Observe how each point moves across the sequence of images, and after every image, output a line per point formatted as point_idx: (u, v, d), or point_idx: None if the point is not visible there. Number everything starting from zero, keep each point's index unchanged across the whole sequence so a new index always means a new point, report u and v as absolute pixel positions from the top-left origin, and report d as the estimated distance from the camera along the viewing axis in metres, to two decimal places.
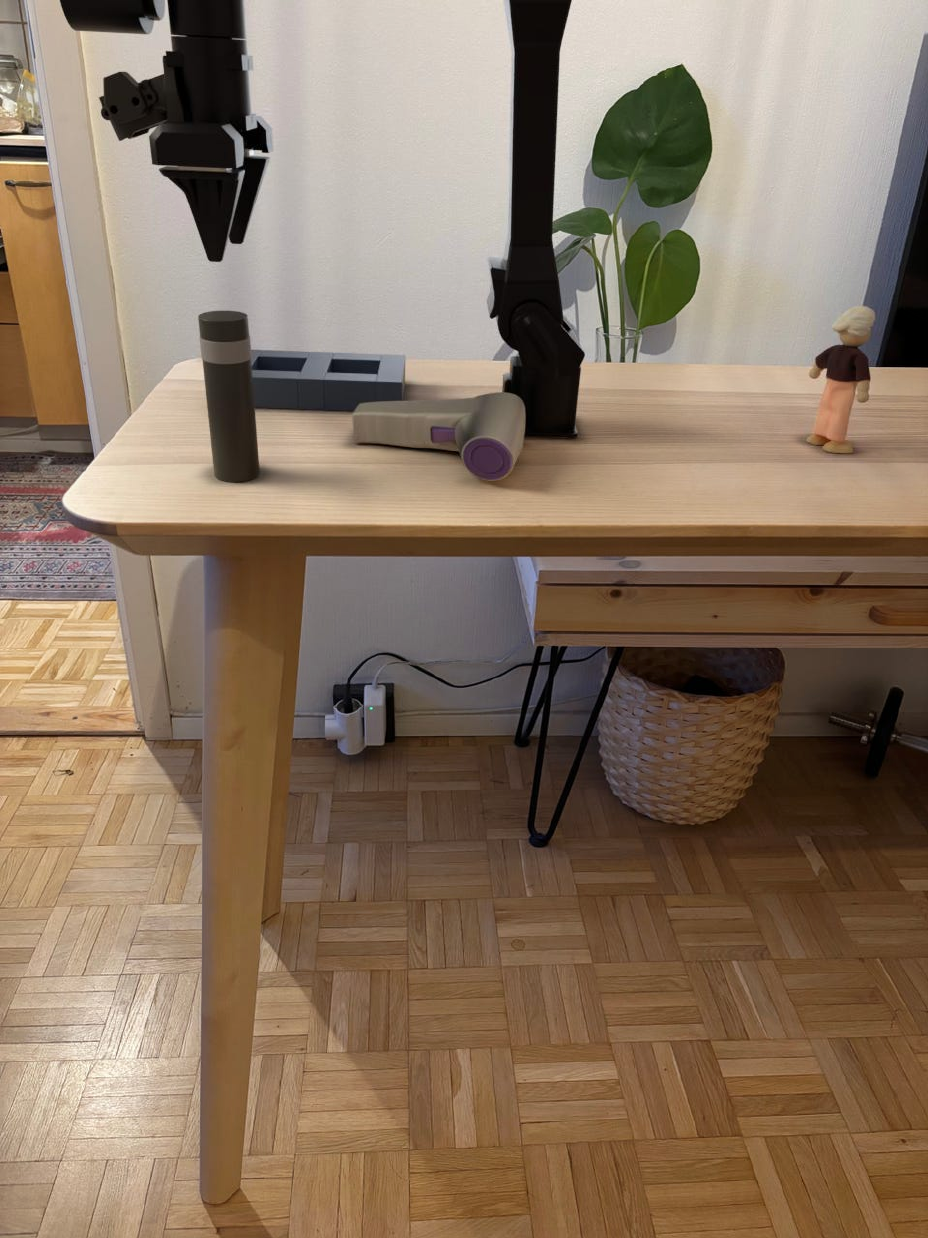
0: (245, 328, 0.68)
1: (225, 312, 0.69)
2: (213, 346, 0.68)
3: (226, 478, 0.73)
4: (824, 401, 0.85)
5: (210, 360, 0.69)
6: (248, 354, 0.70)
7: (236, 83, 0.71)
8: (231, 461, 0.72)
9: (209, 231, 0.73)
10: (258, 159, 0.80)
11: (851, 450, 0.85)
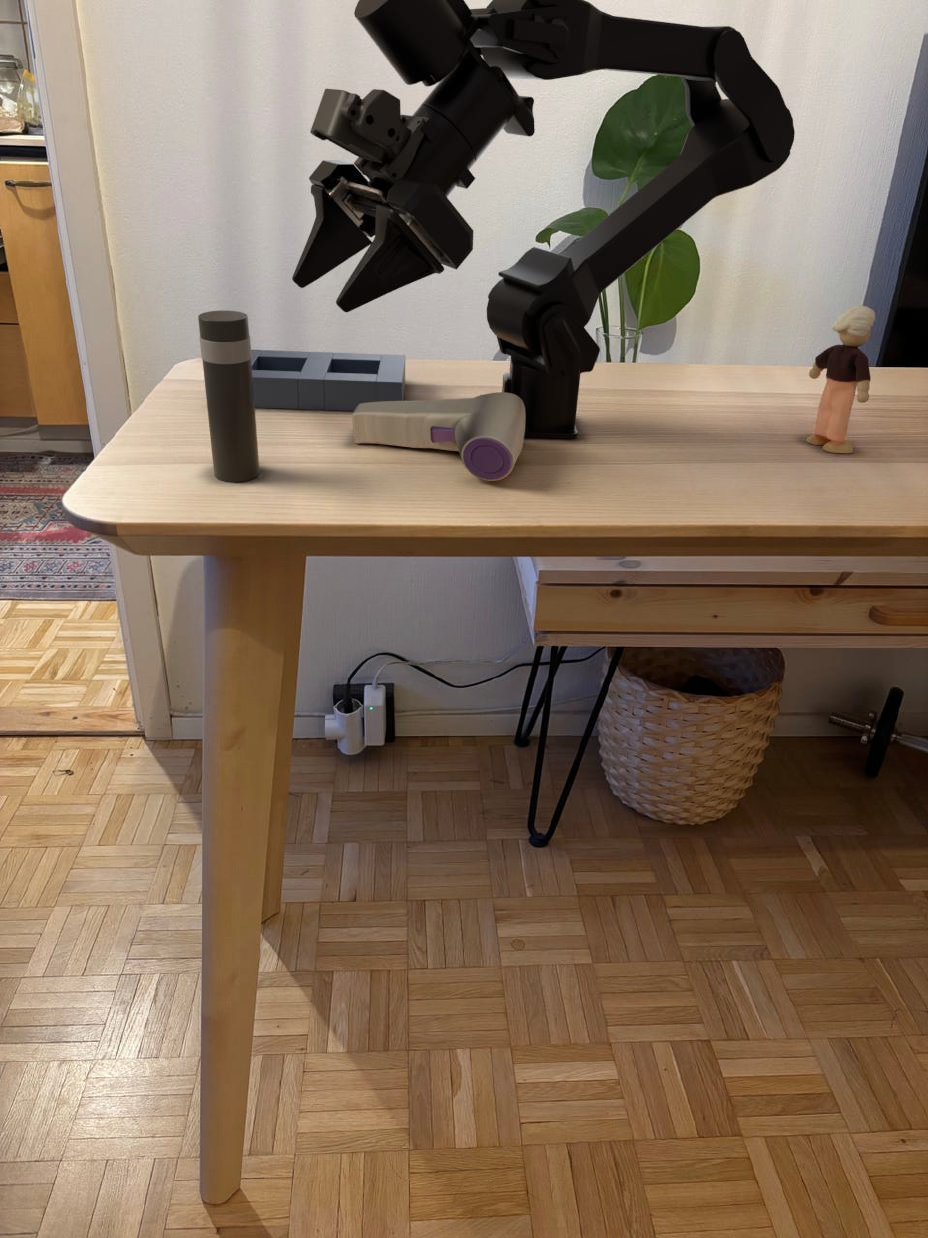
0: (245, 328, 0.68)
1: (225, 312, 0.69)
2: (213, 346, 0.68)
3: (226, 478, 0.73)
4: (824, 401, 0.85)
5: (210, 360, 0.69)
6: (248, 354, 0.70)
7: (450, 190, 0.71)
8: (231, 461, 0.72)
9: (365, 284, 0.67)
10: (366, 237, 0.77)
11: (851, 450, 0.85)
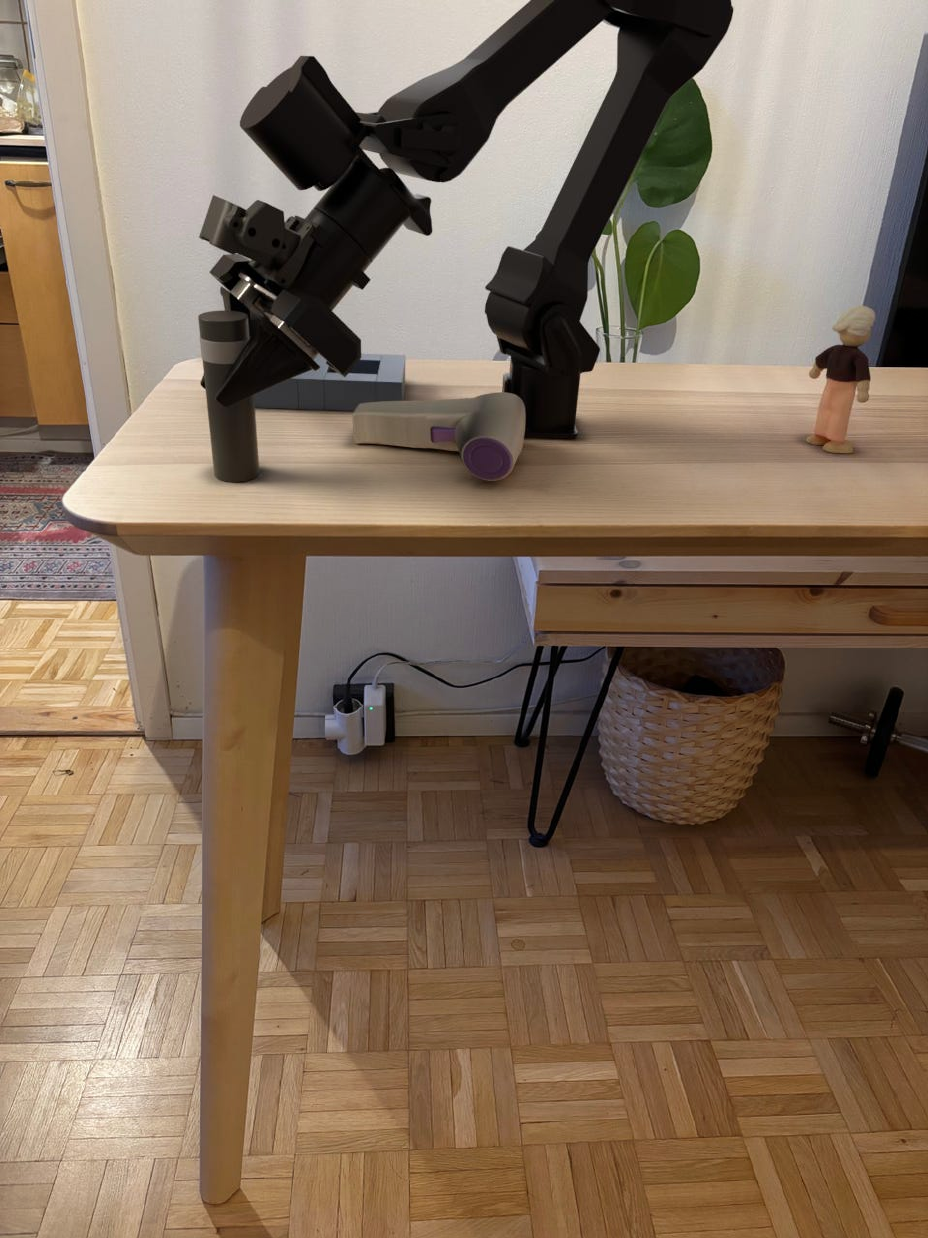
0: (245, 328, 0.68)
1: (225, 312, 0.69)
2: (213, 346, 0.68)
3: (226, 478, 0.73)
4: (824, 401, 0.85)
5: (210, 360, 0.69)
6: None
7: (345, 291, 0.70)
8: (231, 461, 0.72)
9: (242, 381, 0.69)
10: None
11: (851, 450, 0.85)
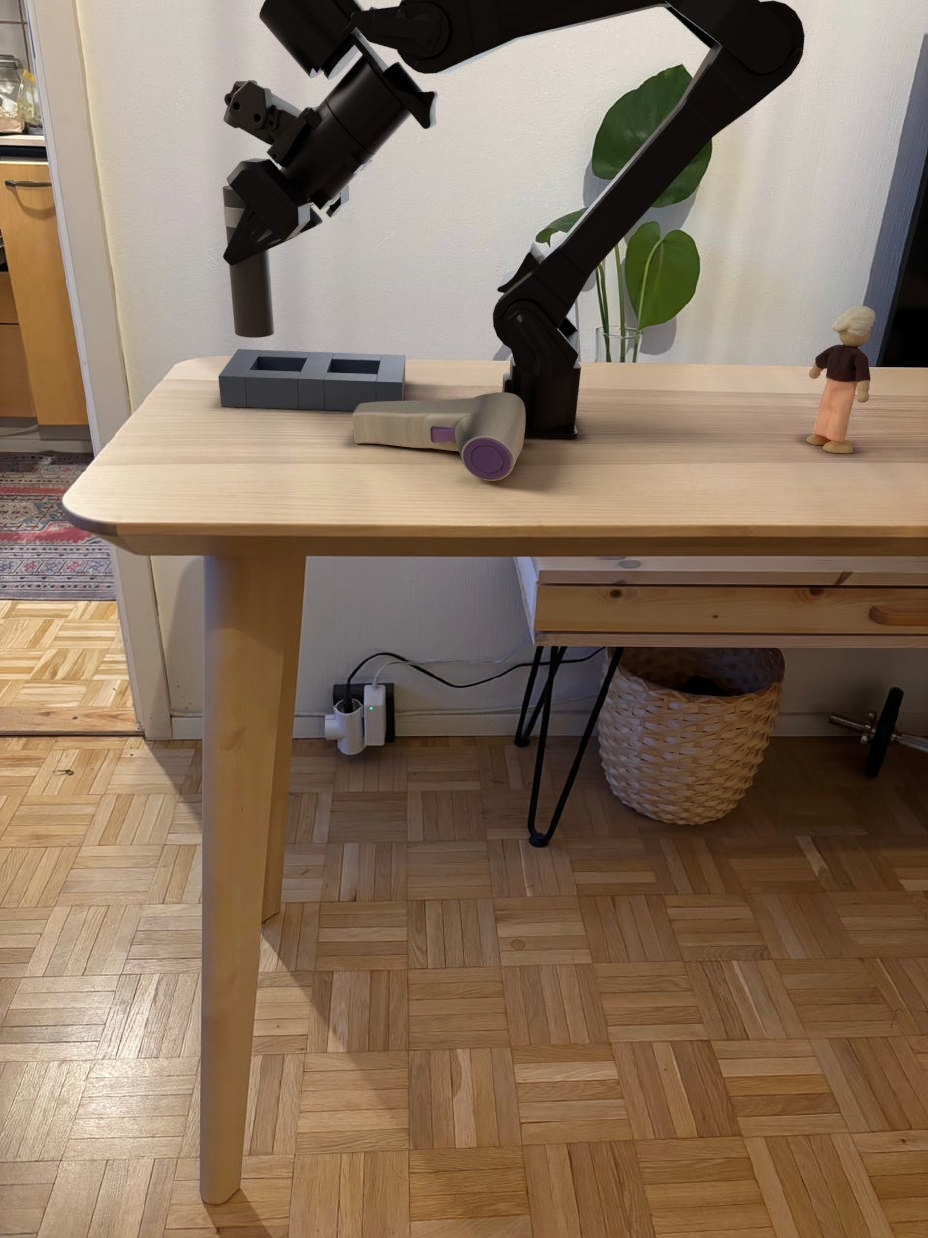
0: None
1: None
2: (226, 210, 0.80)
3: (236, 331, 0.86)
4: (824, 401, 0.85)
5: (226, 223, 0.81)
6: None
7: (341, 175, 0.77)
8: (239, 316, 0.85)
9: (240, 243, 0.80)
10: (310, 219, 0.84)
11: (851, 450, 0.85)
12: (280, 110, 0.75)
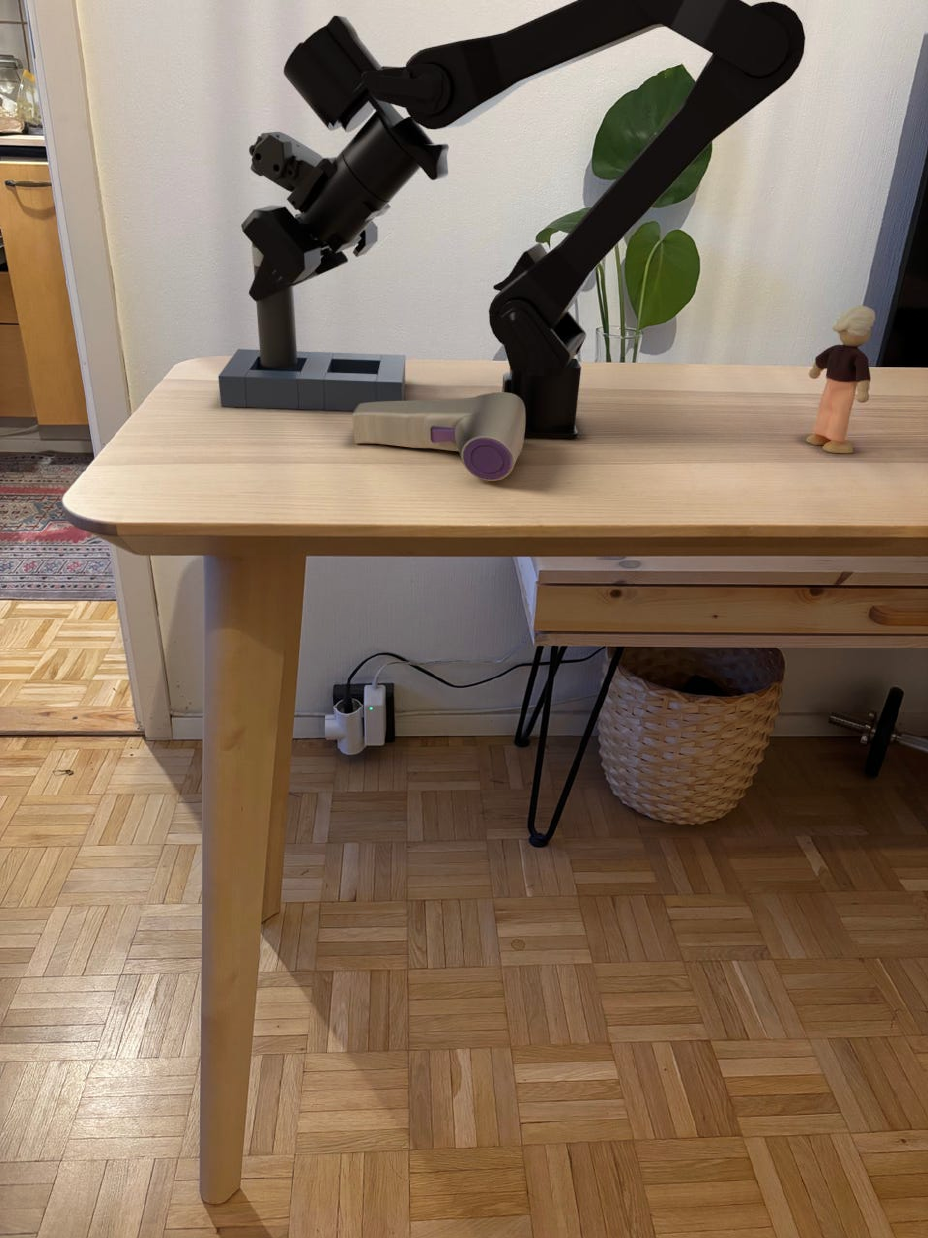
0: None
1: None
2: (253, 250, 0.86)
3: (261, 362, 0.91)
4: (824, 401, 0.85)
5: (253, 262, 0.87)
6: None
7: (355, 221, 0.82)
8: (263, 348, 0.90)
9: (262, 281, 0.86)
10: (333, 259, 0.88)
11: (851, 450, 0.85)
12: (299, 160, 0.80)
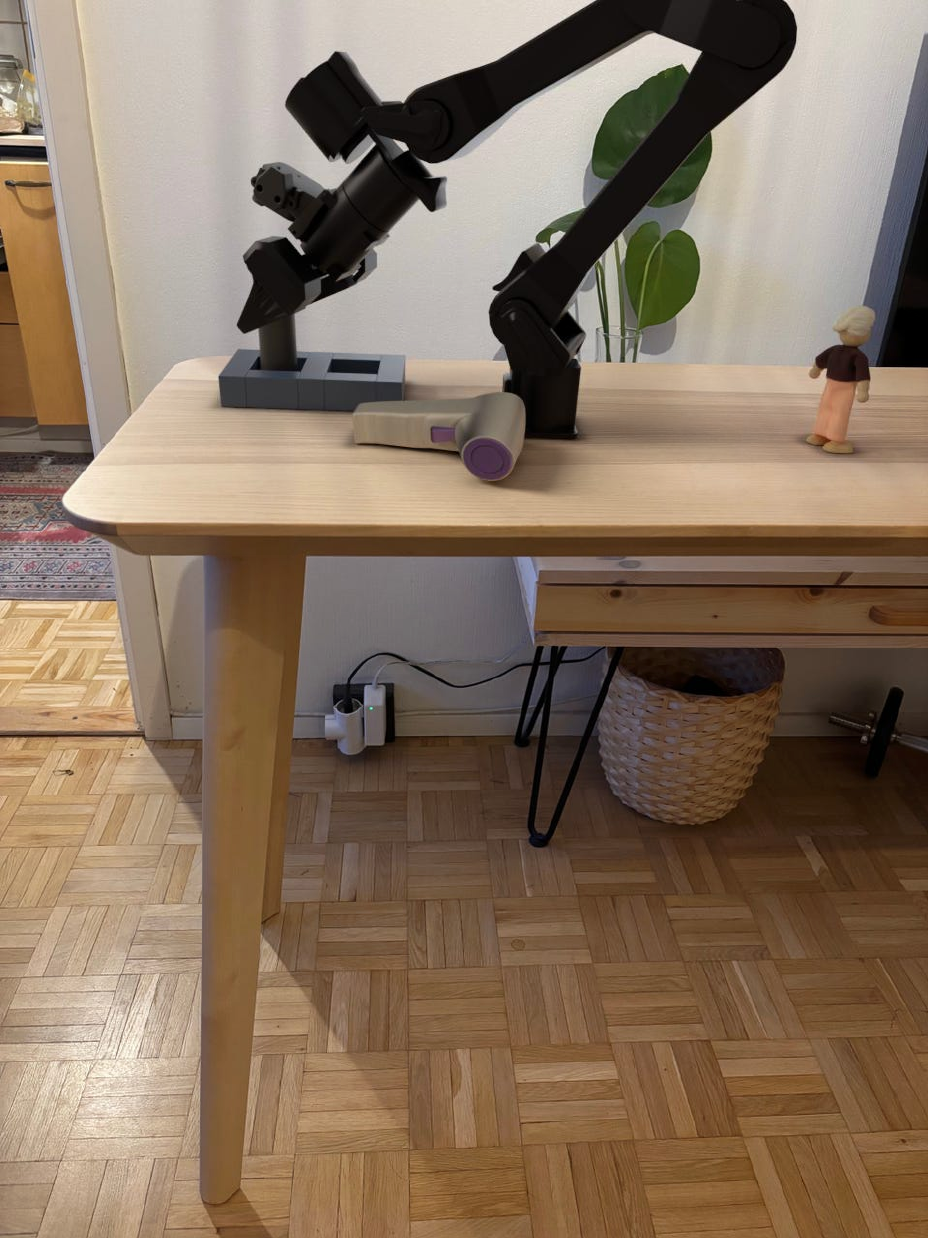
0: None
1: None
2: None
3: None
4: (824, 401, 0.85)
5: None
6: None
7: (354, 251, 0.83)
8: None
9: (250, 314, 0.85)
10: (344, 281, 0.92)
11: (851, 450, 0.85)
12: (300, 192, 0.81)
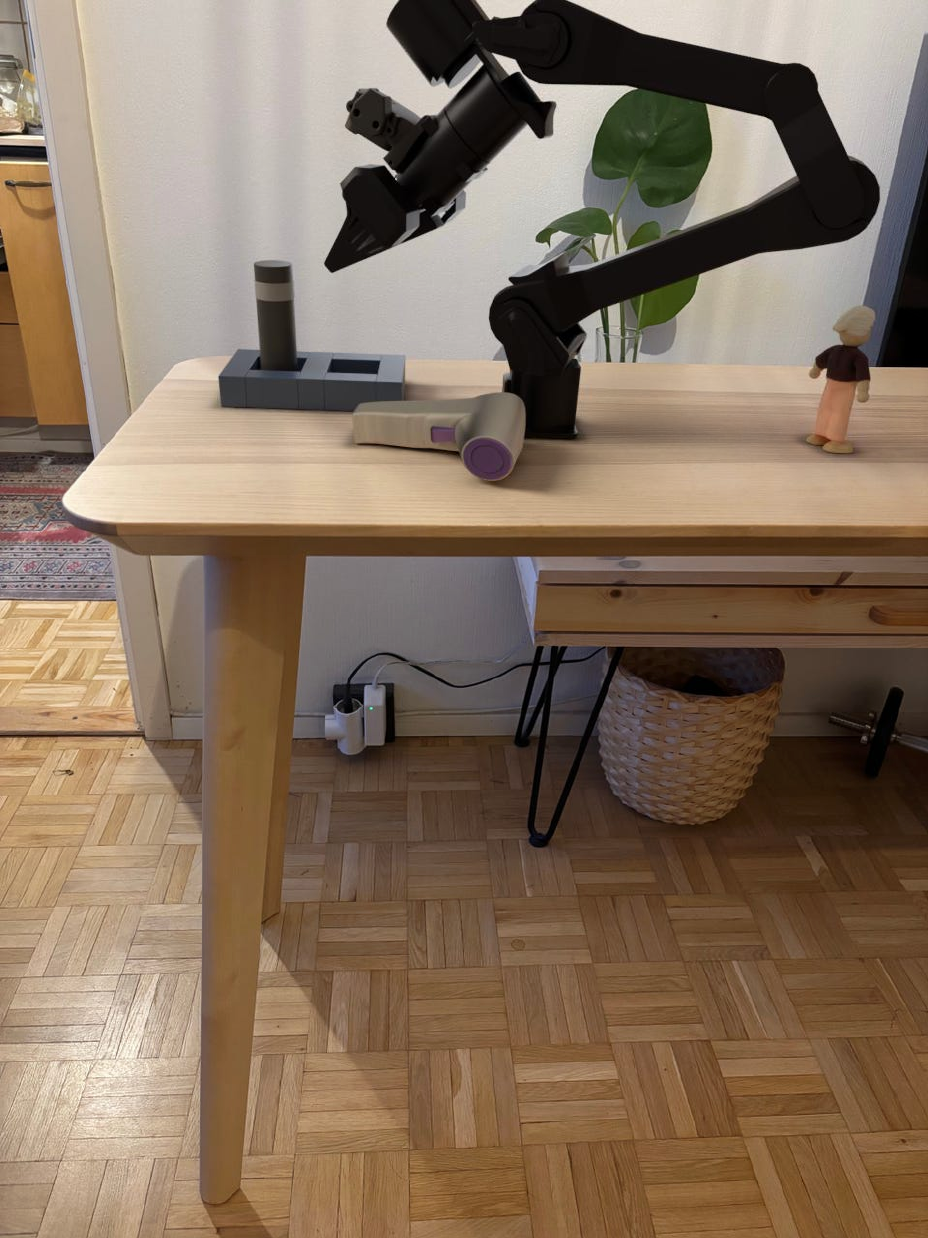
0: (279, 275, 0.86)
1: (282, 262, 0.88)
2: (255, 284, 0.88)
3: None
4: (824, 401, 0.85)
5: (256, 295, 0.88)
6: (282, 296, 0.88)
7: (454, 183, 0.78)
8: None
9: (341, 250, 0.80)
10: (432, 222, 0.87)
11: (851, 450, 0.85)
12: (399, 117, 0.76)
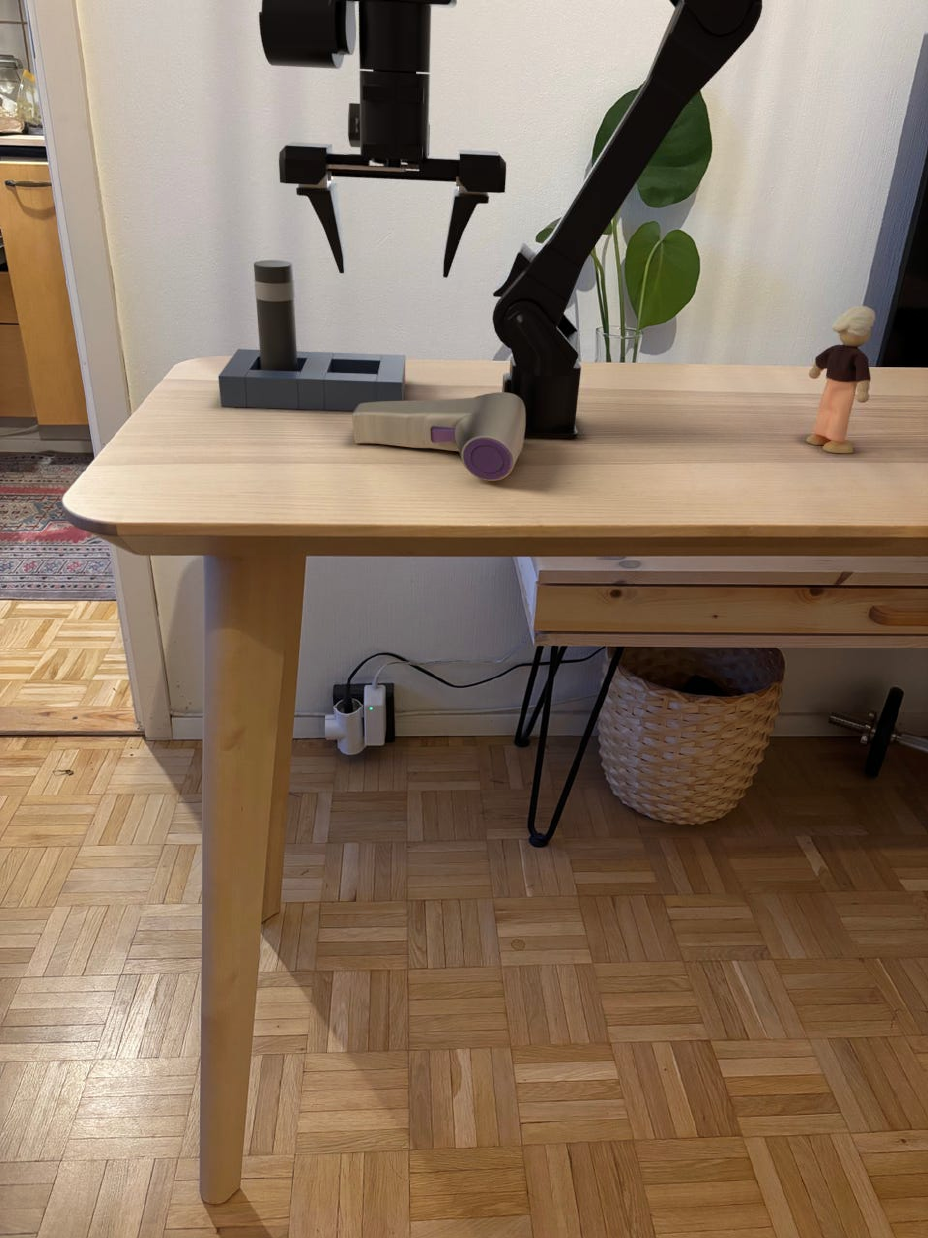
0: (279, 275, 0.86)
1: (282, 262, 0.88)
2: (255, 284, 0.88)
3: None
4: (824, 401, 0.85)
5: (256, 295, 0.88)
6: (282, 296, 0.88)
7: (370, 113, 0.74)
8: None
9: None
10: (455, 196, 0.77)
11: (851, 450, 0.85)
12: None
